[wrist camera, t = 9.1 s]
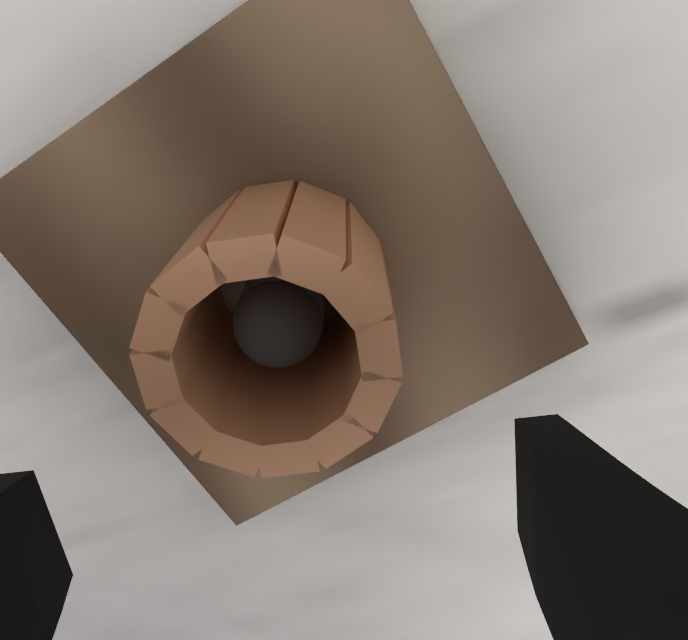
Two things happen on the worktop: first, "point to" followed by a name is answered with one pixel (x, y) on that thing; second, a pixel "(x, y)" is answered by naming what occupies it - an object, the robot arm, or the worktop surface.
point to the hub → (251, 377)
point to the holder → (299, 165)
